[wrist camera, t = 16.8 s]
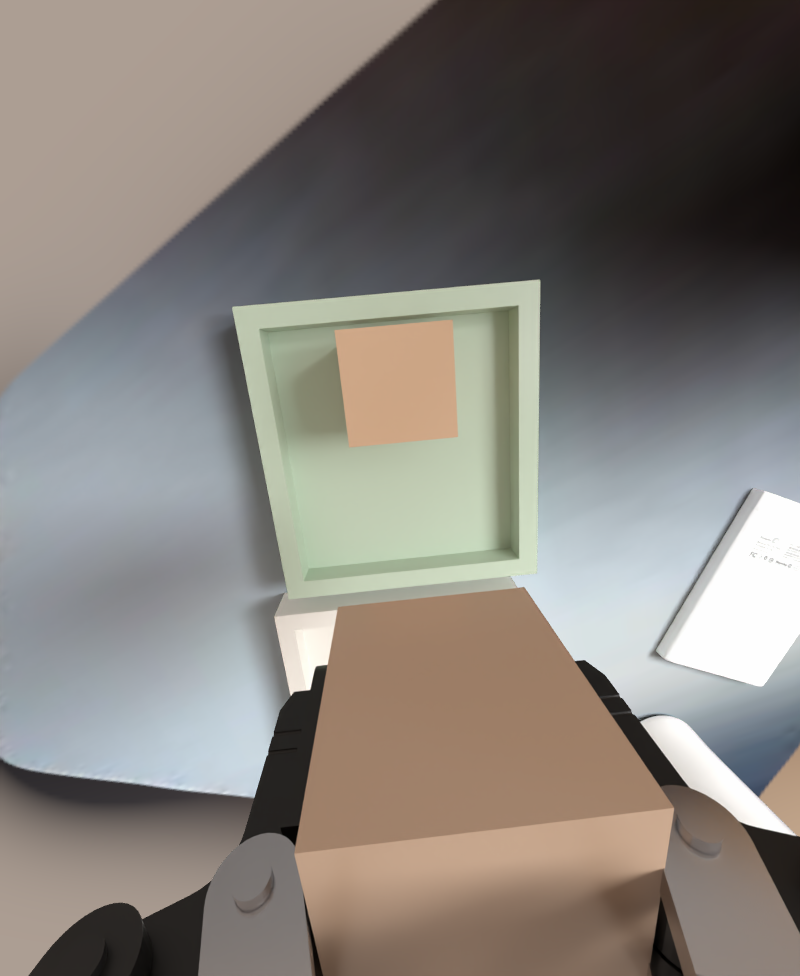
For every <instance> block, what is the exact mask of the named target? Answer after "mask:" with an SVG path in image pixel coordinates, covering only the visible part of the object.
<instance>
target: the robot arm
mask: <svg viewBox="0 0 800 976" xmlns="http://www.w3.org/2000/svg"><path fill="white" fill-rule="evenodd" d="M575 663H576V664H577V666H578V667H579V669H580V670H581V671H582V673H583V674H584V676H585V677H586V679H587V680H588V682H589V683H590V685H591V686H592V688H593V689H594V691H595V692H596V694H597V695H598V696H599V698H600V699H601V701H602V702H603V704H604V705H605V707H606V708H607V710H608V711H609V713H610V714H611V716H612V717H613V719H614V720H615V721H616V723H617V724H618V726H619V727H620V729H621V730H622V732H623V733H624V735H625V736H626V738H627V739H628V741H629V742H630V744H631V745H632V746H633V748H634V749H635V751H636V752H637V754H638V755H639V757H640V758H641V760H642V761H643V763H644V764H645V766H646V767H647V769H648V770H649V771H650V773H651V774H652V776H653V777H654V779H655V780H656V782H657V783H658V785H659V786H660V788H661V789H662V791H663V792H664V794H665V795H666V796H667V798H668V799H669V801H670V802H671V804H672V805H673V807H674V813H673V820H672V826H671V833H670V839H669V845H668V852H667V858H666V865H665V868H663V873H662V879H661V886H660V895H661V897H660V904H659V910H658V916H657V923H656V929H655V936H654V942H653V949H652V955H651V962H650V963H649V964H648V971H647V976H800V837H799V836H794V835H790V834H785V833H781V832H776V831H771V830H767V829H762V828H758V827H754V826H750V825H747V824H744V823H742V822H739V821H738V820H737V819H736V818H735V817H734V816H733V815H732V814H731V813H730V812H729V811H728V810H727V809H726V808H725V807H723V806H722V805H721V804H719V803H718V802H717V801H715V800H714V799H712V798H710V797H709V796H707V795H705V794H703V793H701V792H699V791H697V790H694V789H691V788H690V787H689V786H688V785H687V784H686V783H685V781H684V780H683V779H682V777H681V776H680V775H679V773H678V772H677V771H676V769H675V768H674V767H673V765H672V764H671V763H670V761H669V760H668V759H667V757H666V756H665V755H664V753H663V752H662V751H661V749H660V748H659V747H658V745H657V744H656V743H655V741H654V740H653V739H652V737H651V736H650V735H649V733H648V732H647V731H646V729H645V728H644V727H643V725H642V724H641V723H640V721H639V720H638V719H637V717H636V716H635V715H633V714H632V712H631V709H630V708H629V707H628V705H627V704H626V703H625V701H624V700H623V699H622V698H620V696H619V693H618V692H617V691H616V689H615V688H614V687H613V685H612V684H611V683H610V681H609V680H608V679H607V677H606V676H605V675H604V674H603V673H601V672H600V671H599V670H597V669H596V668H594V667H593V666H592V665H590V664H589V663H588V662H586V661H585V660H582V661H575ZM327 666H328V665H321V666H316V667H315V670H314V675H313V679H312V684H311V689H310V690H305V691H296V692H294V693H293V694H292V695H291V697H290V698H289V699H288V701H287V702H286V703H285V705H284V706H283V708H282V709H281V710H280V713H279V716H278V720H277V723H276V726H275V730H274V737H272V740H271V744H270V747H269V750H268V756H267V757H266V761H265V764H264V767H263V771H262V774H261V778H260V781H259V784H258V788H257V791H256V795H255V798H254V802H253V805H252V809H251V812H250V815H249V819H248V822H247V825H246V829H245V832H244V835H243V838H242V840H241V842H240V844H239V846H238V847H236V848H235V849H234V850H233V851H232V852H231V853H230V854H229V855H228V856H227V857H226V859H225V860H224V861H223V862H222V864H221V865H220V867H219V868H218V870H217V872H216V874H215V875H214V877H213V879H212V881H210V882H209V883H208V884H207V885H205V886H204V887H203V888H201V889H200V890H198V891H197V892H195V893H193V894H192V895H190V896H188V897H186V898H184V899H182V900H180V901H178V902H176V903H174V904H172V905H170V906H168V907H166V908H164V909H162V910H160V911H158V912H156V913H154V914H152V915H150V916H148V917H146V918H144V919H142V918H141V916H140V914H139V912H138V911H137V910H136V909H135V907H133V906H131V905H129V904H125V903H113V904H109V905H106V906H103V907H101V908H99V909H96V910H94V911H93V912H91V913H89V914H88V915H86V916H84V917H83V918H82V919H80V920H79V921H78V922H76V923H75V924H74V925H73V926H71V927H70V928H69V929H68V930H67V931H66V932H65V933H64V934H63V935H62V936H61V937H60V938H59V939H58V940H57V941H56V942H55V943H54V944H53V945H52V946H51V948H50V949H49V950H48V951H47V952H46V954H45V955H44V956H43V957H42V959H41V960H40V961H39V963H38V964H37V965H36V967H35V968H34V969H33V970H32V972H31V973H30V975H29V976H323V973H322V969H321V965H320V960H319V956H318V952H317V948H316V944H315V939H314V935H313V931H312V927H311V923H310V918H309V914H308V910H307V906H306V901H305V897H304V893H303V889H302V885H301V880H300V876H299V872H298V868H297V863H296V859H295V855H294V852H295V846H296V841H297V835H298V829H299V824H300V818H301V812H302V807H303V801H304V796H305V790H306V784H307V779H308V773H309V767H310V762H311V756H312V750H313V745H314V739H315V733H316V728H317V722H318V716H319V711H320V705H321V700H322V694H323V688H324V683H325V677H326V671H327Z"/></svg>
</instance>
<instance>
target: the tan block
mask: <svg viewBox="0 0 800 976" xmlns="http://www.w3.org/2000/svg"><path fill="white" fill-rule="evenodd" d="M673 813H674V807H673V805H672V804H671V802H670V801H669V799H668V798H667V796H666V795H665V794H664V792H663V791H662V789H661V788H660V786H659V785H658V783H657V782H656V780H655V779H654V777H653V776H652V774H651V773H650V771H649V770H648V769H647V767H646V766H645V764H644V763H643V761H642V760H641V758H640V757H639V755H638V754H637V752H636V751H635V749H634V748H633V746H632V745H631V744H630V742H629V741H628V739H627V738H626V736H625V735H624V733H623V732H622V730H621V729H620V727H619V726H618V724H617V723H616V721H615V720H614V719H613V717H612V716H611V714H610V713H609V711H608V710H607V708H606V707H605V705H604V704H603V702H602V701H601V699H600V698H599V696H598V695H597V694H596V692H595V691H594V689H593V688H592V686H591V685H590V683H589V682H588V680H587V679H586V677H585V676H584V674H583V673H582V671H581V670H580V669H579V667H578V666H577V664H576V663H575V661H574V660H573V658H572V657H571V655H570V654H569V652H568V651H567V649H566V648H565V646H564V645H563V644H562V642H561V641H560V639H559V638H558V636H557V635H556V633H555V632H554V630H553V629H552V627H551V626H550V624H549V623H548V621H547V620H546V619H545V617H544V616H543V614H542V613H541V611H540V610H539V608H538V607H537V605H536V604H535V602H534V601H533V599H532V598H531V596H530V595H529V593H528V592H527V591H526V589H525V588H524V587H522V588H512V589H503V590H493V591H484V592H474V593H465V594H455V595H446V596H436V597H427V598H417V599H408V600H399V601H389V602H380V603H370V604H361V605H351V606H342V607H338V609H337V615H336V620H335V626H334V632H333V637H332V643H331V649H330V654H329V660H328V666H327V671H326V677H325V683H324V688H323V694H322V700H321V705H320V711H319V716H318V722H317V728H316V733H315V739H314V745H313V750H312V756H311V762H310V767H309V773H308V779H307V784H306V790H305V796H304V801H303V807H302V812H301V818H300V824H299V829H298V835H297V841H296V846H295V852H294V855H295V859H296V863H297V868H298V872H299V876H300V880H301V885H302V889H303V893H304V897H305V901H306V906H307V910H308V914H309V918H310V923H311V927H312V931H313V935H314V939H315V944H316V948H317V952H318V956H319V960H320V965H321V969H322V973H323V976H647V971H648V964H649V963H650V962H651V955H652V949H653V942H654V936H655V929H656V923H657V916H658V910H659V904H660V897H661V895H660V886H661V879H662V873H663V868H665V865H666V858H667V852H668V845H669V839H670V833H671V826H672V820H673Z"/></svg>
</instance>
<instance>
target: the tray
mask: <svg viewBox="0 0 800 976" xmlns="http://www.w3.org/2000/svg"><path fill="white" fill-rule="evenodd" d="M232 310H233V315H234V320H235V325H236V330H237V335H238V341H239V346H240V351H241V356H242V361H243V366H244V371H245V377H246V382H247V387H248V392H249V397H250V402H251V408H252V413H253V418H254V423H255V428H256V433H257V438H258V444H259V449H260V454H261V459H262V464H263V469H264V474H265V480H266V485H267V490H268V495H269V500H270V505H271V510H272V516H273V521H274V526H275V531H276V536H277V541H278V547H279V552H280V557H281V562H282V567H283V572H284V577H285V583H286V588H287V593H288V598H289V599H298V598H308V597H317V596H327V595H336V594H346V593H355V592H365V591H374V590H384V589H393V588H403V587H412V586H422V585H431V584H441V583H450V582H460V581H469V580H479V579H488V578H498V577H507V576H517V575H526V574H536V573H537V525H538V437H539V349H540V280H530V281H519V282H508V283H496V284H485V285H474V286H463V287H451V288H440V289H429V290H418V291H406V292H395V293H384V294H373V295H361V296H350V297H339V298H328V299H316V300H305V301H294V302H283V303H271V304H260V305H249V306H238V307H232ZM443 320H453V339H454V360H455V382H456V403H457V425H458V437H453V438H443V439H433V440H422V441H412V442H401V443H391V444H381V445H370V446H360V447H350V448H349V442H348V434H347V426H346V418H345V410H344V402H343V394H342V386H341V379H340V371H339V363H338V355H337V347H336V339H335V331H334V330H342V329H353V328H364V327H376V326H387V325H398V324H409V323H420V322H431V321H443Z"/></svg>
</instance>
